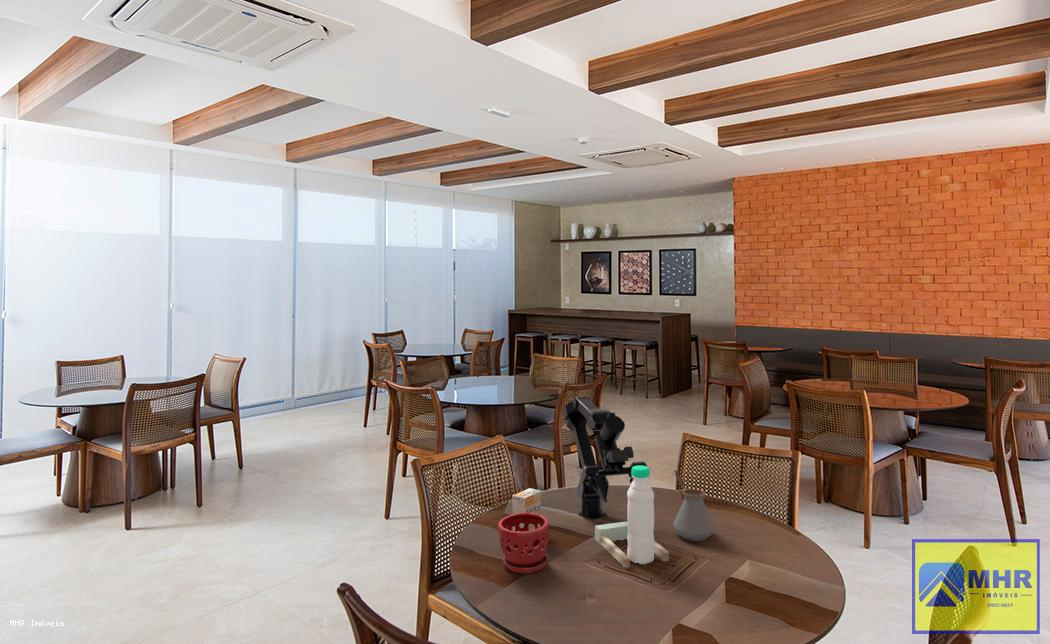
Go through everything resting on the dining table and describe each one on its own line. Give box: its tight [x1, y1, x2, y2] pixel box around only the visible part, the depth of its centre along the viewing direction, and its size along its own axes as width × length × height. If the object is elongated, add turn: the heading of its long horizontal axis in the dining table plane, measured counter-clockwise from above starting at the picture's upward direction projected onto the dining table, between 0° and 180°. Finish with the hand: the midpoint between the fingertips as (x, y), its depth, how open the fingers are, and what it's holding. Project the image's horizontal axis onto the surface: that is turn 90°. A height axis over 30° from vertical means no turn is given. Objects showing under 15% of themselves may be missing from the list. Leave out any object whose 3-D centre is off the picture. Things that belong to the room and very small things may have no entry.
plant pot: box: [498, 513, 550, 574], centre depth 156 cm, size 13×13×12 cm
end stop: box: [594, 521, 628, 544], centre depth 173 cm, size 3×13×4 cm, turn 107°
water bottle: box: [626, 465, 655, 565], centre depth 159 cm, size 7×7×25 cm
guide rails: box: [598, 534, 670, 568], centre depth 164 cm, size 16×13×2 cm
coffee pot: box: [671, 469, 715, 542], centre depth 179 cm, size 21×12×15 cm, turn 6°
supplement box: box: [511, 487, 542, 532], centre depth 175 cm, size 8×5×13 cm, turn 143°
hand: (621, 500), depth 166 cm, fingers open, 9 cm apart
